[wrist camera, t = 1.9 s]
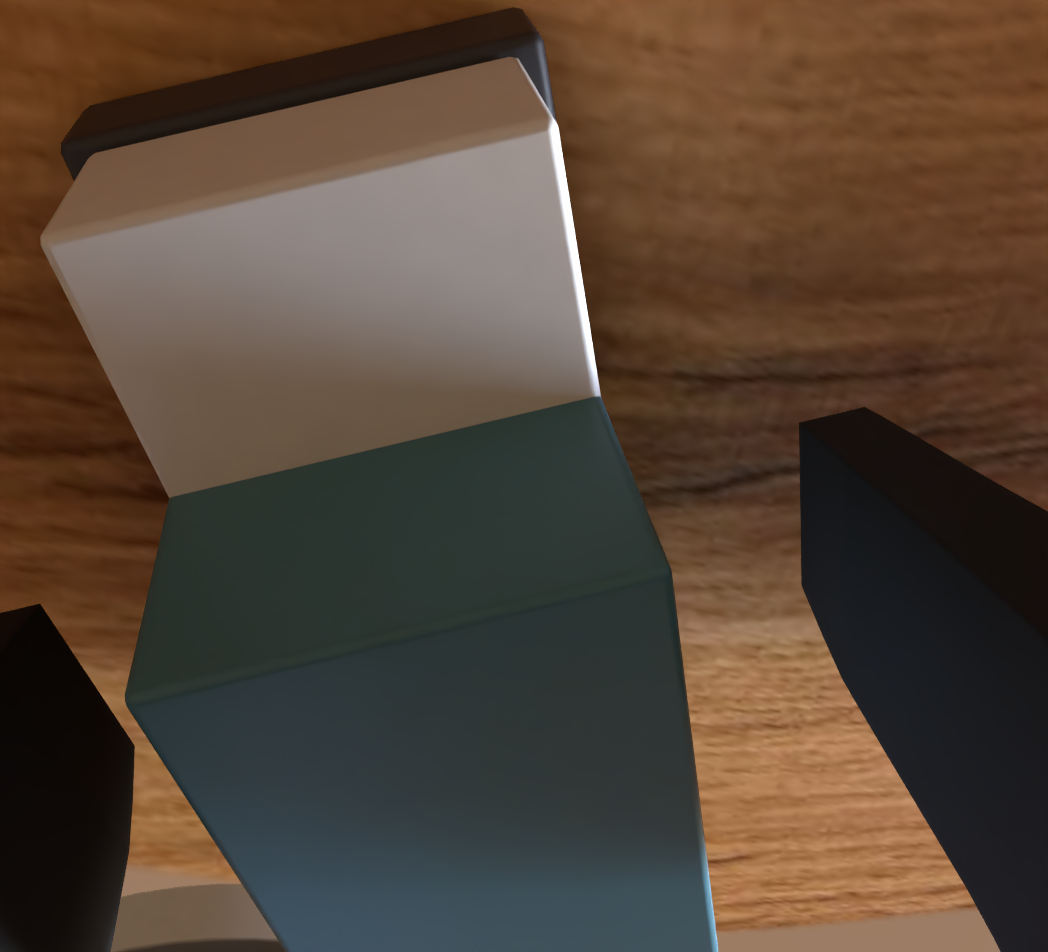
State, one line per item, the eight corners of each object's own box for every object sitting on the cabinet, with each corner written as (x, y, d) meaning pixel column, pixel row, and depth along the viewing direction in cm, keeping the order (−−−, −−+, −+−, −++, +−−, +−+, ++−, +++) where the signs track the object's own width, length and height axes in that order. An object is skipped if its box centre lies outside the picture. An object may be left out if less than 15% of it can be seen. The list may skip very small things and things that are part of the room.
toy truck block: (624, 614, 12) (746, 977, 9) (337, 683, 12) (336, 1077, 9) (522, 3, 8) (677, 210, 4) (81, 105, 8) (-133, 399, 4)
